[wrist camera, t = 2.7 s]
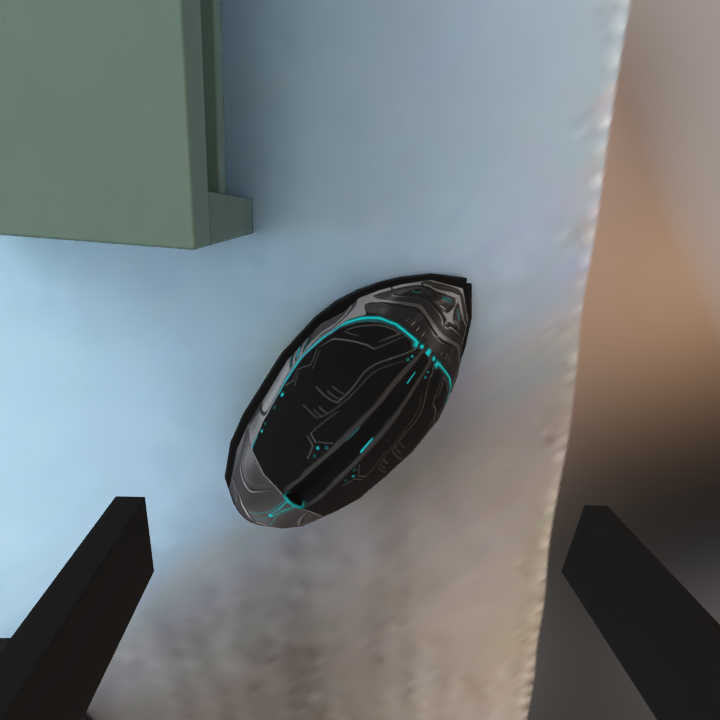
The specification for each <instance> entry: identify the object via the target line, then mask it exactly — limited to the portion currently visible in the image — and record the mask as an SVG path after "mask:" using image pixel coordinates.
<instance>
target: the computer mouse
mask: <svg viewBox="0 0 720 720" xmlns="http://www.w3.org/2000/svg"><path fill="white" fill-rule="evenodd" d="M466 281H467V278H463V277H455V276H447V275H439V274H423V275H414V276H406V277H399V278H394V279H390V280H386V281H382V282H379V283H376V284H373V285H370V286H367V287H364V288H361V289H358V290H356V291H354V292H352V293H350V294H348V295H346V296H344V297H343V298H341V299H339V300H337V301H335V302H334V303H333V304H331V305H330V306H329V307H327V308H326V309H325V310H324V311H322V312H321V313H320V314H318V315H317V316H316V317H315V318H314V319H313V320H312V321H311V322H310V323H309V324H308V325H307V326H306V327H305V328H304V330H303V331H302V332H301V333H300V334H299V335H298V336H297V337H296V338H295V339H294V340H293V341H292V342H291V343H290V345H289V346H288V347H287V348H286V349H285V350H284V351H283V352H282V353H281V355H280V356H279V358H278V359H277V361H276V363H275V364H274V366H273V367H272V369H271V371H270V372H269V374H268V375H267V377H266V378H265V380H264V382H263V383H262V385H261V386H260V388H259V390H258V391H257V393H256V394H255V396H254V397H253V399H252V401H251V402H250V404H249V405H248V407H247V409H246V410H245V412H244V413H243V415H242V417H241V420H240V422H239V424H238V427H237V429H236V431H235V433H234V436H233V438H232V440H231V442H230V448H229V454H228V460H227V466H226V473H225V479H226V482H227V485H228V488H229V491H230V494H231V497H232V500H233V503H234V505H235V506H236V508H237V511H238V512H239V513H240V514H241V515H242V516H243V517H244V518H245V519H246V520H248V521H250V522H251V523H254V524H258V525H262V526H270V527H277V528H291V527H299V526H304V525H306V524H308V523H311V522H313V521H315V520H317V519H320V518H322V517H324V516H326V515H328V514H331V513H333V512H335V511H337V510H339V509H341V508H343V507H344V506H346V505H348V504H350V503H352V502H354V501H355V500H357V499H359V498H360V497H362V496H363V495H364V494H365V493H366V492H367V491H368V490H370V489H371V488H372V487H373V486H374V485H375V484H377V483H378V482H379V481H380V480H381V479H383V478H384V477H385V476H386V475H387V474H388V473H389V472H390V471H391V470H393V469H394V468H395V467H396V466H397V465H398V464H399V463H400V462H401V461H403V460H404V459H405V458H406V457H407V456H408V455H409V454H410V453H411V452H413V450H414V449H415V448H416V446H417V445H418V444H419V443H420V441H421V440H422V439H423V438H424V436H425V435H426V434H427V433H428V431H429V430H430V429H431V428H432V427H433V425H434V424H435V423H436V422H437V421H438V419H439V417H440V415H441V413H442V411H443V409H444V407H445V405H446V403H447V400H448V398H449V396H450V394H451V392H452V389H453V386H454V384H455V381H456V379H457V375H458V371H459V367H460V363H461V358H462V355H463V352H464V349H465V346H466V341H467V337H468V332H469V328H470V323H471V319H472V284H470V283H466Z"/></svg>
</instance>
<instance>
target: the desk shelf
mask: <svg viewBox="0 0 720 720" xmlns="http://www.w3.org/2000/svg"><path fill="white" fill-rule="evenodd" d="M252 232H253V218H252V199H248V198H242V197H237V196H232V195H226V174H225V137H224V100H223V62H222V25H221V0H0V235H11V236H24V237H36V238H49V239H62V240H75V241H88V242H101V243H113V244H126V245H139V246H152V247H165V248H178V249H191V250H194V249H198V248H201V247H205V246H208V245H212V244H216V243H219V242H223V241H226V240H230V239H233V238H236V237H240V236H243V235H247V234H250V233H252Z"/></svg>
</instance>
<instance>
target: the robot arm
mask: <svg viewBox="0 0 720 720" xmlns="http://www.w3.org/2000/svg"><path fill="white" fill-rule="evenodd" d="M153 572H154V568H153V560H152V552H151V544H150V536H149V528H148V519H147V511H146V503H145V497H115V498H114V500H113V501H112V502H111V504H110V505H109V506H108V508H107V509H106V511H105V512H104V513H103V515H102V516H101V517H100V519H99V520H98V521H97V523H96V524H95V525H94V527H93V528H92V529H91V531H90V532H89V533H88V535H87V536H86V537H85V539H84V540H83V542H82V543H81V544H80V546H79V547H78V548H77V550H76V551H75V552H74V554H73V555H72V556H71V558H70V559H69V560H68V562H67V563H66V564H65V566H64V567H63V569H62V570H61V571H60V573H59V574H58V575H57V577H56V578H55V579H54V581H53V582H52V583H51V585H50V586H49V587H48V589H47V590H46V591H45V593H44V594H43V596H42V597H41V598H40V600H39V601H38V602H37V604H36V605H35V606H34V608H33V609H32V610H31V612H30V613H29V614H28V616H27V617H26V618H25V620H24V621H23V623H22V624H21V625H20V627H19V628H18V629H17V631H16V632H15V633H14V635H13V636H12V637H11V638H0V720H87V719H86V718H85V717H84V715H85V713H86V711H87V709H88V707H89V705H90V703H91V700H92V698H93V696H94V694H95V692H96V690H97V688H98V686H99V684H100V682H101V680H102V678H103V676H104V673H105V671H106V669H107V667H108V665H109V663H110V661H111V659H112V657H113V655H114V653H115V651H116V649H117V647H118V644H119V642H120V640H121V638H122V636H123V634H124V632H125V630H126V628H127V626H128V624H129V622H130V620H131V618H132V615H133V613H134V611H135V609H136V607H137V605H138V603H139V601H140V599H141V597H142V595H143V593H144V591H145V589H146V586H147V584H148V582H149V580H150V578H151V576H152V574H153ZM562 573H563V574H564V576H565V578H566V579H567V581H568V582H569V584H570V585H571V587H572V588H573V590H574V592H575V593H576V595H577V596H578V598H579V599H580V601H581V603H582V604H583V606H584V607H585V609H586V610H587V612H588V613H589V615H590V616H591V618H592V619H593V621H594V622H595V624H596V626H597V627H598V629H599V630H600V632H601V633H602V635H603V637H604V638H605V640H606V641H607V643H608V644H609V646H610V647H611V649H612V650H613V652H614V654H615V655H616V657H617V658H618V660H619V661H620V663H621V664H622V666H623V668H624V669H625V671H626V672H627V674H628V675H629V677H630V678H631V680H632V682H633V683H634V685H635V686H636V687H637V689H638V691H639V692H640V694H641V695H642V697H643V698H644V700H645V702H646V703H647V705H648V706H649V708H650V709H651V711H652V712H653V714H654V716H655V717H656V719H657V720H720V625H719V624H718V623H717V621H716V620H715V619H714V618H713V617H712V616H711V615H710V614H709V613H708V612H707V611H706V610H705V609H704V608H703V607H702V606H701V605H700V603H699V602H698V601H697V600H696V599H695V598H694V597H693V596H692V595H691V594H690V593H689V592H688V591H687V590H686V589H685V588H684V587H683V586H682V584H680V582H679V581H678V580H677V579H676V578H675V577H674V576H673V575H672V574H671V573H670V572H669V571H668V570H667V569H666V567H665V566H664V565H663V564H662V563H661V562H660V561H659V560H658V559H657V558H656V557H655V556H654V555H653V554H652V553H651V552H650V550H649V549H647V547H646V546H645V545H644V544H643V543H642V542H641V541H640V540H639V539H638V538H637V537H636V536H635V535H634V534H633V532H632V531H631V530H630V529H629V528H628V527H627V526H626V525H625V524H624V523H623V522H622V521H621V520H620V519H619V518H618V517H617V516H616V515H615V513H614V512H613V511H612V510H611V509H610V508H609V507H608V506H587V505H586V506H584V508H583V512H582V514H581V517H580V520H579V523H578V526H577V529H576V532H575V535H574V537H573V540H572V543H571V546H570V549H569V552H568V555H567V558H566V561H565V564H564V566H563V569H562Z"/></svg>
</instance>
